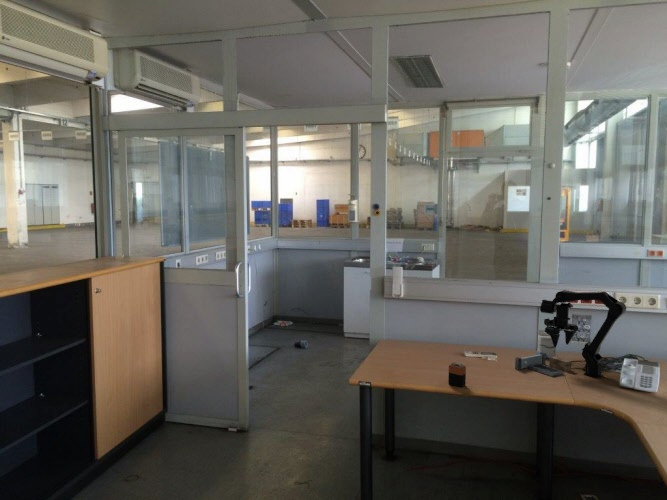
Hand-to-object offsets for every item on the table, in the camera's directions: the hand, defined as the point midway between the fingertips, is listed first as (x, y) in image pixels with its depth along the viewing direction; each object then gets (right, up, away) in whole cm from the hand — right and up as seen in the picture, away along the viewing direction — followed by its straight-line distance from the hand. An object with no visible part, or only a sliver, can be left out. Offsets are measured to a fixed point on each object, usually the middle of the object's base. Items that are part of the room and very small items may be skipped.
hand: (561, 345), depth 257 cm
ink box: (+1, -11, +21) cm, 24 cm away
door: (-14, -11, +3) cm, 18 cm away
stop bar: (0, -12, +1) cm, 12 cm away
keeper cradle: (-10, -12, -4) cm, 16 cm away
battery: (-59, -14, -24) cm, 65 cm away
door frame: (-14, -12, +3) cm, 19 cm away
